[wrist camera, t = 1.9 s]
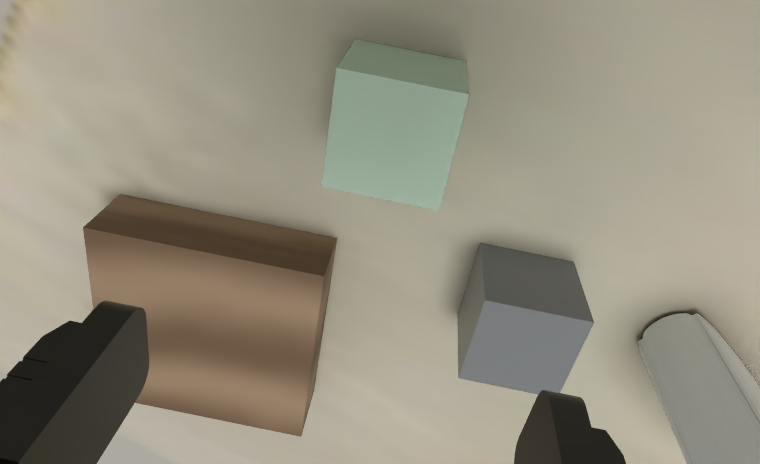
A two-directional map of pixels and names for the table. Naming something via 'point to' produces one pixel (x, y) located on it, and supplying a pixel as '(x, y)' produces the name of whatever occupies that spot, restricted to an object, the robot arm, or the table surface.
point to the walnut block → (217, 307)
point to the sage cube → (394, 124)
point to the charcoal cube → (521, 320)
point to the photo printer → (703, 390)
